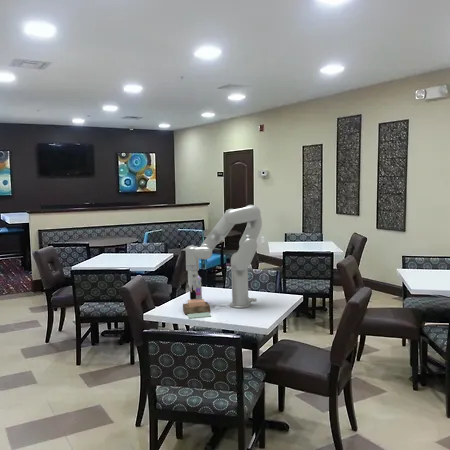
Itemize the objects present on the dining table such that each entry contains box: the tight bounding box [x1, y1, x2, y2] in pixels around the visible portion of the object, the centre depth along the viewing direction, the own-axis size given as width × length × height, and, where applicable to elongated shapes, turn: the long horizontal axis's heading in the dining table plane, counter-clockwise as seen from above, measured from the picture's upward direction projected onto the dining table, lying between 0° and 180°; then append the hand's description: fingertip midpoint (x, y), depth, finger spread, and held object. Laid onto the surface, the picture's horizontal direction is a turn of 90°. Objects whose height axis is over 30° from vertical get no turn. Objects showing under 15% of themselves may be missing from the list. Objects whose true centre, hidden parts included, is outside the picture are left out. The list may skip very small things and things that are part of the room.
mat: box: [186, 312, 212, 320], centre depth 258 cm, size 12×8×1 cm, turn 103°
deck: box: [182, 301, 211, 316], centre depth 266 cm, size 14×9×4 cm, turn 103°
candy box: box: [189, 274, 203, 300], centre depth 285 cm, size 14×6×16 cm, turn 11°
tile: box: [187, 298, 206, 307], centre depth 265 cm, size 9×6×2 cm, turn 103°
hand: (192, 298), depth 273 cm, fingers closed
